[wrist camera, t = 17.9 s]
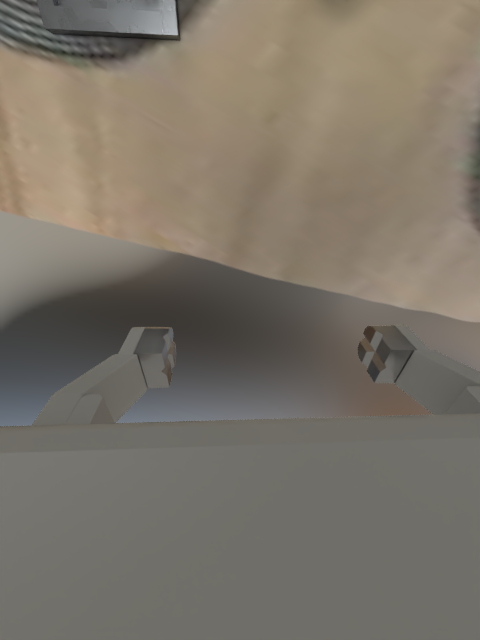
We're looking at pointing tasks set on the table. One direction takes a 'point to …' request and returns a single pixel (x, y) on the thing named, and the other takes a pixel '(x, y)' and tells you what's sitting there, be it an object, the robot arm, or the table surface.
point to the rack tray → (112, 18)
